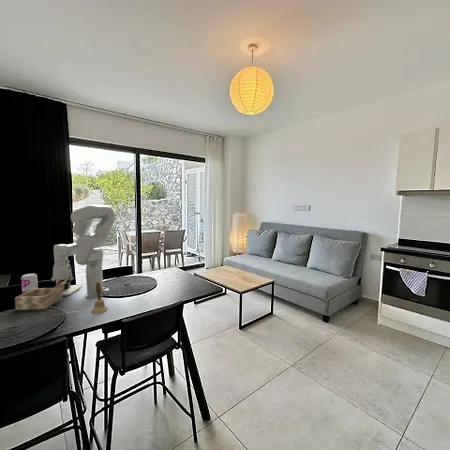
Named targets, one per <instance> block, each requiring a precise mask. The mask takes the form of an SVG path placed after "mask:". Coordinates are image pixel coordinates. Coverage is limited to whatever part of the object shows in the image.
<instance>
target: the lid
mask: <svg viewBox="0 0 450 450" xmlns="http://www.w3.org/2000/svg"><path fill="white" fill-rule="evenodd" d="M83 287H84V286H83V285H71V281H70V282H69V288H68V289H67V290H65V281H64V280H63V281H62V282H60V284H58V285H57V284H56V285H54V288H62V296H70V295H72V294H73V293H75V292H77V291H79V290H81V289H82V288H83Z"/></svg>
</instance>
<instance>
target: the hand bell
mask: <svg viewBox="0 0 450 450" xmlns="http://www.w3.org/2000/svg"><path fill="white" fill-rule="evenodd" d="M96 292H97V298H96V300H95V301H94V306H93V308H92V309H91V311H90V313H92V314H94V315H95V314H96V315H97V314H102V313H105V312H107V311H108V310H109V309H108V307H107V306H106V305H105V301H104V300H103V299H102V298H101V297H102V296H101V295H100V292H101V285H100V283H99V282H97V285H96Z"/></svg>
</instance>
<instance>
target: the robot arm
mask: <svg viewBox="0 0 450 450" xmlns="http://www.w3.org/2000/svg"><path fill="white" fill-rule="evenodd" d="M95 219H100V221H99V222H98V223H97V224H96V227H95V229H94V231H93V232H92V233H88V231H89V229H90V227H91V225H92V223H93V221H94V220H95ZM115 219H116V214H115V211H114V209H113V207H111V206H109V205H105V204H91V205H90V204H89V205H87V206H84V207H80V208H78V209H75V210H74V211H72V212H71V215H70V221H71V222H72V223H73V224H74V225H73V227H72V229H71V230H72V233H73V234H75V235H76V236H78V237H77V239H76V241H75V243H74V242H73V243H68V244H66V243H59V244H54V245H53V258H54V259H53V260H54V265H53V268H52V277H51V279H50V280H51V281H52V282H54V283H55V284H56V285H58V284H60V283H61V281H62V280H63V282H64V281H65V290H67V289H68V288H69V282H70V283H71V281H72V280H74V277H73V273H72V268H71V264H70V260H69V257H71V256H74V259H75V262H76V263H77V264H78V265H80V266H85V279H86V293H85V294H84V297H85V298H86V299H98V298H97V292H96V285H97V282H99V283H100V285H101V292H100V295H101V297H104V296H106V295H107V294H109V293H110V289H109V288H106V287H105V286H104V280H103V279H104V276H103V262H104V261H103V260H104V252H103V250H102V249H101V247H104V246H105V245H106V243H107V241H108V238H109V235H110V232H111V229H112V228H113V225H114V223H115Z"/></svg>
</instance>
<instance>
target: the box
mask: <svg viewBox="0 0 450 450" xmlns="http://www.w3.org/2000/svg"><path fill="white" fill-rule="evenodd" d="M61 300H63V295H62V288H55V287H43V288H42V287H41V288H39V287H38V288H37V289H33V290H31V291H29V292H26V293H24V294H20V295H18V296H16V297H14V304H15V305H14V306H15V311H24V310H26V311H27V310H46V309H48V308H49V307H51V306H53V305H54V304H56V303H57V302H59V301H61Z"/></svg>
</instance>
